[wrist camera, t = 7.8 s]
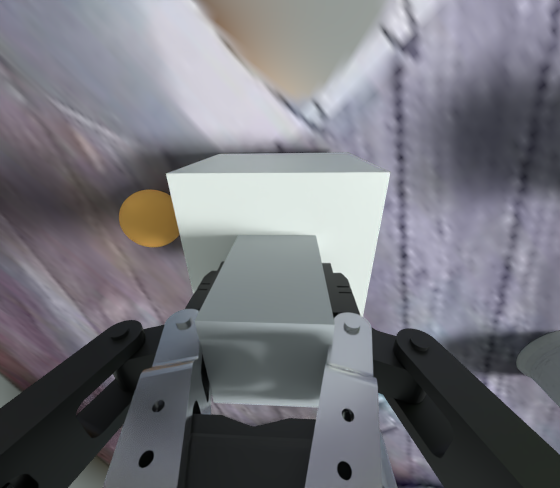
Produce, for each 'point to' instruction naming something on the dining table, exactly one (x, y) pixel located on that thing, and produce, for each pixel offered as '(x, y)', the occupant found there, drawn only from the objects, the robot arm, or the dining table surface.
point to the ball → (149, 218)
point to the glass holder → (543, 363)
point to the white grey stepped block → (275, 263)
